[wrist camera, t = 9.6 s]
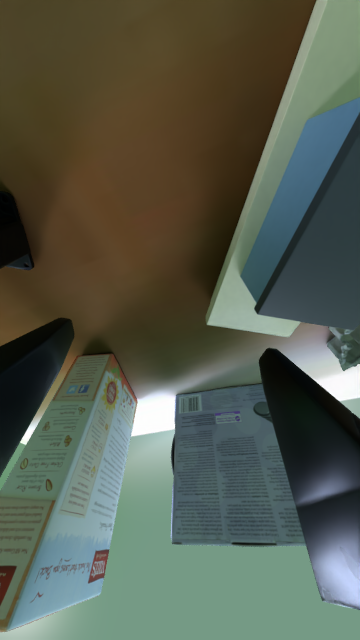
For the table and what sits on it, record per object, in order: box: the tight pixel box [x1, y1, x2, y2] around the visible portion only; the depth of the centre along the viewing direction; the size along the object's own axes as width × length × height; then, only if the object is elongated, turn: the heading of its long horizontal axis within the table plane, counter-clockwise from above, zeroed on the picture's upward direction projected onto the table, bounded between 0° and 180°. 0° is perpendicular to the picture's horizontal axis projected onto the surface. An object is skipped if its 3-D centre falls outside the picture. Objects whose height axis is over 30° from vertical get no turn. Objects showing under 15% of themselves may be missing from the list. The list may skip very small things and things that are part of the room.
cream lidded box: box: [205, 0, 360, 337], centre depth 14 cm, size 9×20×4 cm, turn 169°
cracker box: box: [0, 354, 137, 632], centre depth 23 cm, size 14×6×21 cm, turn 6°
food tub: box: [240, 97, 360, 330], centre depth 11 cm, size 7×9×5 cm
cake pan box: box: [171, 384, 306, 547], centre depth 27 cm, size 19×5×18 cm, turn 105°
